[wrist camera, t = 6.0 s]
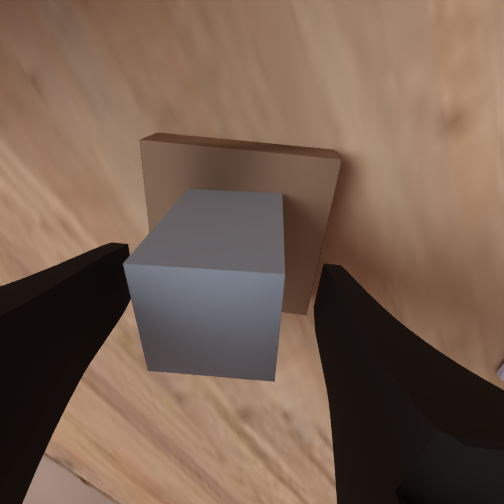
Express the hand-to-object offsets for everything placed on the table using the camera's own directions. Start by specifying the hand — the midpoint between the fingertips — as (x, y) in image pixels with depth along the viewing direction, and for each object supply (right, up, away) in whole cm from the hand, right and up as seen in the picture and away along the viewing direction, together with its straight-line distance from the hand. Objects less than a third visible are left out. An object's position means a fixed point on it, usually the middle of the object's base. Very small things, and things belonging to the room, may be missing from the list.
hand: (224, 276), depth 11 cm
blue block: (0, +2, +2) cm, 3 cm away
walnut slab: (0, +3, +5) cm, 6 cm away
